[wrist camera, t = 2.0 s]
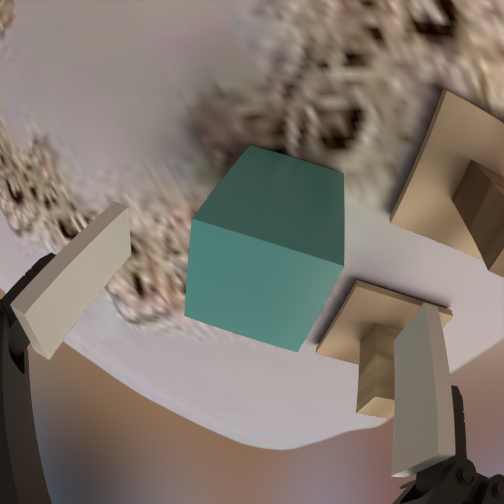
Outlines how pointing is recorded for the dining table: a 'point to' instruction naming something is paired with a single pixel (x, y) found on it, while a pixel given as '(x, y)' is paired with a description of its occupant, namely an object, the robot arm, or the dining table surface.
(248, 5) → the dining table surface
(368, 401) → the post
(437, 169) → the post
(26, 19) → the dining table surface
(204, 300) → the teal rectangular block
